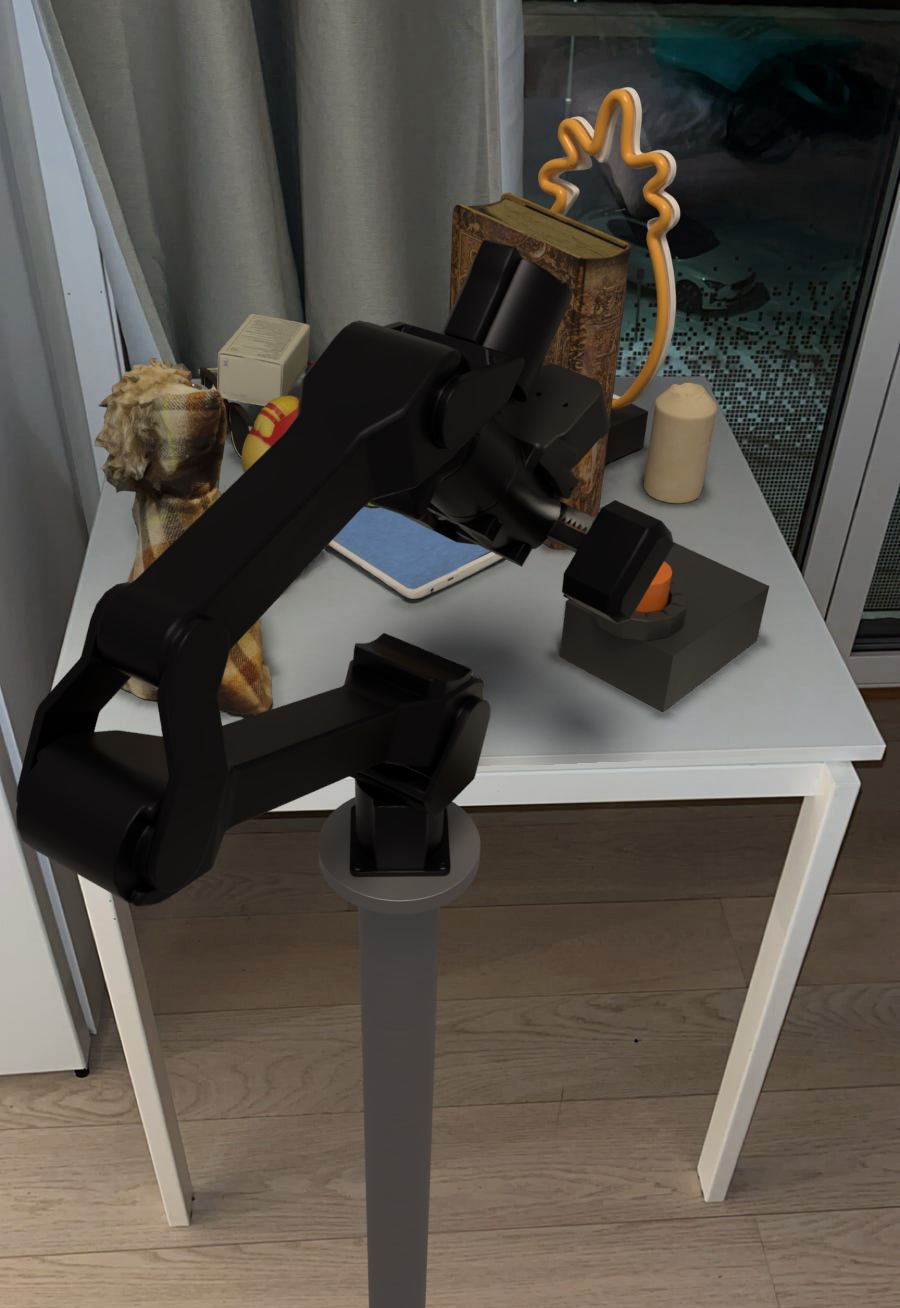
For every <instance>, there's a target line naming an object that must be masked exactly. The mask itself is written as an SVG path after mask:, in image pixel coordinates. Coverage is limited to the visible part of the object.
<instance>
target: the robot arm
mask: <svg viewBox="0 0 900 1308" xmlns="http://www.w3.org/2000/svg"><path fill="white" fill-rule="evenodd" d="M571 300H572V292H571V289H570V287H569V286H568V284H567V283H566V282H564V281H562V280H559V279H557V278H556V277H555V276H554V275H552V274H551V273H550V272H549V271H547V270H545V269H544V268H542V267H541V266H539V265H537V264H536V263H534V262H532V261H530V260H528V259H526V258H523V257H522V256H521V254H520V253H519V251H518V249H517V248H516V247H515V246H511V245H507V244H503V243H499V242H495V241H491V240H487V239H485V240H483V241H482V244H481V246H480V248H479V250H478V253H477V254H476V256H475V258H474V260H473V263H472V265H471V267H470V269H469V271H468V274H467V276H466V278H465V280H464V283H463V285H462V287H461V289H460V292H459V294H458V296H457V298H456V300H455V303H454V305H453V307H452V309H451V312H450V314H449V313H448V316H447V319H446V320H445V323H444V325H443V327H442V329H441V332H437V331H433V330H430V329H426V328H423V327H420V326H416V325H414V324H409V323H407V322H403V321H396V322H393V323H389V324H386V325H379V324H376V323H373V322H370V321H364V320H354V321H352V322H350V323H349V324H347V325H346V326H344V327H342V329H341V330H340V331H339V332H338V333H337V334H336V335H335V336H334V337H333V339H332V340H331V341H330V343H329V344H328V345H327V346H326V347H325V349H324V350H323V351H322V352H321V354H320V356H319V357H318V358H317V359H316V360H315V362H314V364H313V366H311V367H310V368H309V370H308V371H307V372H306V373H305V375H304V376H303V377H302V379H301V381H300V392H299V397H298V398H299V407H298V415H297V417H296V419H295V420H294V421H293V423H292V424H291V425H290V426H289V428H288V429H287V430H286V432H285V433H284V434H283V435H282V436H281V437H280V438H279V439H278V440H277V441H276V442H275V443H274V444H273V445H272V446H271V447H270V448H269V449H268V450H267V451H266V452H265V453H264V454H263V455H262V456H261V457H260V458H259V459H258V460H257V461H256V462H255V463H254V464H253V465H252V466H251V467H250V468H249V469H248V470H247V471H246V472H245V473H244V472H243V473H242V474H241V475H240V476H239V477H238V478H237V479H236V480H235V481H234V482H233V483H232V484H231V485H230V486H229V487H228V488H227V489H226V490H225V491H224V492H223V493H221V496H220V497H219V498H218V499H217V500H216V501H215V502H214V503H213V504H212V505H211V506H210V507H209V508H208V509H207V510H206V511H205V512H204V513H203V514H202V515H201V516H200V517H199V518H198V519H197V520H196V521H195V522H194V523H193V524H192V525H191V526H190V527H189V528H188V529H186V530H185V531H184V532H183V533H182V534H181V535H180V536H179V537H178V538H177V539H176V540H175V541H174V542H173V543H172V544H171V545H170V546H169V547H168V548H167V549H166V550H165V551H164V552H163V553H162V554H161V555H160V556H159V557H158V558H157V559H156V560H155V561H154V562H153V563H152V564H151V565H150V566H149V567H148V568H147V569H146V570H145V571H144V572H143V573H142V574H141V575H140V576H139V577H138V578H137V579H136V580H134V581H133V582H131V583H129V582H127V581H126V582H125V581H124V582H121V583H120V582H119V583H116V584H114V585H113V586H112V587H110V588H109V589H107V590H106V591H105V592H103V595H102V596H101V597H100V599H99V600H98V601H97V603H96V604H95V606H94V609H93V612H92V614H91V617H90V619H89V623H88V627H87V631H86V635H85V639H84V642H83V646H82V650H81V655H80V658H78V660H77V661H76V662H75V664H73V666H71V668H70V669H69V670H68V672H67V673H65V674H64V676H63V677H62V678H61V679H60V681H58V683H57V684H56V685H55V686H54V687H53V689H52V690H50V692H49V693H48V694H47V695H46V696H45V697H44V698H43V700H42V701H41V702H40V703H39V704H38V706H37V708H36V710H35V714H34V717H33V722H32V726H31V729H30V732H29V737H28V742H27V746H26V749H25V755H24V759H23V763H22V766H21V771H20V774H19V779H18V783H17V786H16V798H15V800H16V801H15V802H16V804H17V805H16V808H15V816H16V819H15V820H16V828H17V831H18V834H19V837H20V838H21V841H23V842H24V843H25V844H26V845H27V846H28V847H30V848H31V849H32V850H34V851H35V852H37V853H39V854H41V855H42V856H44V857H46V858H48V859H50V860H51V861H53V862H55V863H57V864H58V865H60V866H62V867H64V868H65V869H67V870H69V871H71V872H73V873H74V874H76V875H78V876H80V877H82V878H84V880H85V879H86V880H87V881H89V882H90V883H92V884H94V885H96V886H98V887H99V888H101V889H103V890H105V891H106V892H108V893H110V894H112V895H113V896H116V897H117V898H119V899H120V900H122V901H124V902H126V903H128V904H130V905H133V906H135V908H149V907H153V906H157V905H158V904H162V902H164V901H166V900H168V899H169V898H171V897H173V896H174V895H176V894H177V893H179V892H180V891H182V890H183V889H185V888H186V887H187V886H189V885H190V884H192V883H193V882H195V881H197V880H198V879H199V878H201V877H203V876H204V875H206V874H207V873H209V872H210V871H211V870H212V869H213V867H215V863H216V859H217V856H218V853H219V851H220V848H221V845H222V842H223V840H224V836H225V833H226V832H227V831H229V830H230V829H232V828H234V827H236V826H239V825H241V824H243V823H246V822H247V821H250V820H252V819H255V818H257V817H259V816H261V815H264V814H266V813H268V812H271V811H272V810H275V809H278V808H280V807H283V806H285V805H287V804H289V803H291V802H294V801H297V800H299V799H301V798H303V797H305V796H307V795H310V794H312V793H314V792H318V791H320V790H322V789H324V788H326V787H329V786H330V785H333V784H335V783H338V782H340V781H343V780H345V779H347V778H352V779H354V797H355V805H353V806H352V807H351V827H350V874H351V875H352V876H354V877H440V876H447V875H449V874H450V870H451V864H450V847H449V831H448V814H447V806H448V805H449V804H450V803H451V802H454V800H456V798H457V797H458V796H459V795H460V794H461V793H462V792H463V791H464V790H465V789H466V788H467V787H468V786H470V784H471V783H472V782H473V781H474V780H475V778H476V775H477V771H478V768H479V763H480V759H481V754H482V751H483V748H484V743H485V740H486V735H487V731H488V728H489V723H490V720H491V712H492V711H491V710H492V709H491V705H490V703H489V701H488V700H486V699H484V689H485V686H486V683H485V681H484V679H482V678H481V677H479V676H476V675H473V673H474V669H473V668H471V667H468V666H466V665H464V664H461V663H459V662H456V661H454V660H452V659H449V658H447V657H444V656H443V655H440V654H437V653H434V652H433V651H430V650H427V649H425V648H422V647H421V646H417V645H416V644H413V643H410V642H407V641H405V640H403V639H400V638H398V637H396V636H394V635H391V634H388V633H387V632H383V633H382V634H380V635H379V636H378V637H377V638H376V639H374V640H372V641H370V642H355V644H354V648H353V656H352V659H351V660H350V661H349V664H348V667H347V672H346V676H345V679H344V684H343V685H342V686H339V687H336V688H333V689H330V690H325V691H324V692H320V693H317V694H315V695H311V696H308V697H306V698H302V699H298V700H295V701H292V702H290V703H287V704H283V705H280V706H278V707H275V708H271V709H269V710H268V711H265V712H262V713H259V714H256V715H253V716H250V717H249V716H246V717H245V718H241V719H239V720H234V721H232V722H228V723H226V724H223V721H222V713H221V709H220V708H219V702H218V693H219V690H220V686H221V683H222V679H223V675H224V672H225V668H226V665H227V661H228V657H229V651H230V650H231V649H232V647H233V646H234V645H235V644H236V643H237V642H238V641H239V640H240V639H241V638H242V637H243V636H244V635H245V633H246V632H247V631H248V630H249V629H250V628H251V627H252V626H253V625H254V624H255V623H256V622H257V621H258V619H259V620H260V619H261V618H262V616H263V615H264V614H266V612H268V610H269V609H270V608H271V607H272V606H273V604H274V603H275V602H277V600H278V599H279V598H281V596H282V595H283V594H284V593H285V592H286V591H287V590H288V589H289V587H290V586H291V585H292V584H293V583H294V582H295V581H296V580H297V579H298V578H299V577H300V576H301V575H302V573H303V572H304V571H305V570H306V569H307V568H308V567H309V566H310V565H311V564H312V563H313V561H315V559H316V558H317V557H319V555H320V554H321V553H322V552H323V551H324V550H325V548H327V546H329V545H328V544H329V543H330V542H331V541H332V540H333V539H334V538H335V537H336V536H337V535H338V533H339V532H340V531H341V530H342V529H343V528H344V527H345V526H346V525H347V524H348V523H349V522H350V521H351V519H352V518H353V517H354V516H355V515H356V514H357V513H358V512H359V511H360V510H361V509H362V508H363V507H365V506H366V505H367V504H368V503H370V504H372V505H375V506H378V507H381V508H384V509H387V510H389V511H392V512H395V513H398V514H401V515H403V516H404V517H406V518H408V519H410V520H412V521H414V522H416V523H418V524H420V525H422V526H424V527H426V528H428V529H430V530H433V531H435V532H437V533H439V534H441V535H443V536H445V537H447V538H449V539H451V540H453V541H455V542H457V543H465V544H473V545H479V546H481V547H483V548H485V549H487V550H489V551H491V552H493V553H495V554H497V555H499V556H501V557H503V558H502V559H505V560H508V561H509V562H511V563H513V564H515V565H518V566H519V567H523V566H524V564H525V562H526V561H527V559H528V557H529V555H531V552H532V551H533V550H536V549H538V548H539V547H541V546H542V545H543V544H544V542H545V541H546V540H547V539H548V540H550V541H552V542H554V543H557V544H559V545H561V546H563V547H565V548H567V549H566V550H569V551H571V552H573V553H574V556H572V558H571V560H570V562H569V564H568V565H567V567H566V569H565V571H564V572H563V578H562V585H561V593H562V594H563V595H562V596H563V598H566V599H567V600H568V599H569V600H571V601H573V602H575V603H577V604H579V605H581V606H582V607H584V608H586V609H588V610H590V611H592V612H594V613H596V614H598V615H600V616H602V617H604V618H606V619H608V620H610V621H612V622H614V623H616V624H620V623H623V622H625V621H628V620H630V619H631V617H632V615H633V614H634V612H635V610H636V609H637V607H638V605H639V603H640V602H641V600H642V598H643V597H644V595H645V593H646V591H647V590H648V588H649V586H650V585H651V583H652V581H653V580H654V578H655V576H656V574H657V573H658V571H659V569H660V568H661V566H662V564H663V562H664V561H665V559H666V557H667V556H668V554H669V552H670V550H671V549H672V547H673V545H674V543H675V541H674V538H673V533H672V531H671V530H670V529H669V528H668V527H667V525H666V524H665V522H663V521H662V520H661V519H658V518H657V517H655V516H651V515H650V514H647V513H645V512H643V511H641V510H639V509H636V508H634V507H631V506H630V505H628V504H625V503H623V502H620V501H618V500H616V499H614V500H612V501H611V502H609V503H607V504H605V505H603V506H601V507H600V509H599V513H598V514H597V515H596V516H591V515H589V514H587V513H584V512H582V511H580V510H578V509H576V508H574V507H571V506H569V505H567V504H565V503H563V502H561V501H560V500H561V498H562V497H563V498H565V499H569V498H570V496H571V494H572V493H573V491H574V489H575V487H576V486H577V484H578V482H579V481H578V480H577V478H576V477H575V476H574V475H573V474H572V473H571V472H570V469H572V468H574V467H575V466H576V465H577V464H578V463H579V462H580V461H581V460H582V459H583V458H584V456H585V455H586V454H587V453H588V452H589V451H590V450H591V448H592V447H593V446H594V445H595V444H596V443H597V442H598V440H599V439H602V438H604V436H605V435H606V434H607V433H608V431H609V429H610V422H609V418H608V413H607V408H606V403H605V399H604V394H603V389H602V385H601V384H600V383H599V382H598V381H597V380H594V379H592V378H590V377H587V376H584V375H582V374H579V373H577V372H574V371H572V370H569V369H567V368H564V367H562V366H559V365H556V364H547V365H542V364H543V362H544V360H545V358H546V355H547V353H548V351H549V349H550V347H551V344H552V342H553V340H554V338H555V335H556V333H557V331H558V329H559V326H560V324H561V322H562V320H563V317H564V315H565V313H566V311H567V309H568V306H569V304H570V302H571ZM558 519H560V520H561V521H562V522H564V521H565V523H566V524H570V525H571V526H572V527H574V526H575V525H576V526H575V527H576V528H577V529H578V530H579V529H580V528H581V530H582V531H583V532H584V531H585V530H586V533H587V534H584V533H582V532H580V531H578V530H575V529H573V528H571V527H569V526H567V525H565V524H563V523H561V522H558ZM131 677H133V678H135V679H137V680H139V681H141V682H143V683H145V684H147V685H150V686H152V687H154V688H156V689H158V692H157V700H156V705H157V710H158V716H159V724H160V728H161V735H156V734H147V733H140V732H134V731H127V730H119V729H113V730H98V731H96V727H97V722H98V720H99V716H100V713H101V711H102V710H103V709H104V708H105V707H106V706H107V705H108V704H109V702H110V701H111V700H112V699H113V698H114V697H115V696H116V695H117V694H118V693H119V691H120V690H121V689H123V688H122V687H123V686H124V685H125V683H126V682H127V681H128V680H129V679H130V678H131ZM441 868H445V869H441ZM355 869H360V870H355Z"/></svg>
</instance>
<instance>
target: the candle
mask: <svg viewBox="0 0 900 1308" xmlns="http://www.w3.org/2000/svg"><path fill="white" fill-rule="evenodd" d="M654 404H655V405H654V408H653V416H652V423H651V424H652V425H651V431H650V437H649V444H648V451H647V457H646V464H645V470H644V479H643V489H644V491H645V493H646V494H647V495H648V496H650V497H651V498H653V499H655V500H658V501H660V502H664V503H669V504H686V503H690V502H693V501H695V500H697V499H698V498H699V497H700V496H701V494H702V491H703V486H704V482H705V480H704V479H705V475H706V470H707V465H708V459H709V456H710V455H709V453H710V450H711V444H712V443H711V442H712V437H713V432H714V428H715V427H714V426H715V422H716V421H715V420H716V416H717V411H718V405H717V403H716V401H714V399H713V397H711V395H710V394H709V393H708V392H707V391H706V389H705V387H704V386H703V385H701V384H696V383H692V382H684V383H682V384H676V383H673V384H672V385H671V386H670V387H669V388H667V389H666V390H665V391H664V392H662V393H661V394H660V395H658V396H657V398H656V399H655V403H654Z"/></svg>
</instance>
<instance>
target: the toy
mask: <svg viewBox="0 0 900 1308" xmlns="http://www.w3.org/2000/svg"><path fill="white" fill-rule="evenodd" d="M299 398H300V397H297V396H294V395H288V396H280V397H278V398H275V399H273V400H271V401H270V402H269V403H268V404H267V405H266V406H262V408H261V409H260V410H259V413H258V414H257V416H256V418H255V421H254V425H253V427H252V429H251V430H250V432H249V434H248V435H247V437H246V440H245V442H244V445H243V450H242V458H241V465H242V471H243V474H244V473H245V472H246V471H247V470H248V469H249V468H250V467H251V466H252V465H253V464H254V463H255V462H256V461H257V460H258V459H259V458H260V457H261V456H262V455H263V454H264V453H265V452H266V451H267V450H268V449H269V448H270V447H271V446H272V445H273V444H274V443H275V442H276V441H277V440H278V439H279V438H280V437H281V436H282V435H283V434H284V433H285V432H286V430H287V429H288V428H289V426H290V425H291V424H292V423H293V421H294V420H295V419H296V417H297V415H298V407H299Z"/></svg>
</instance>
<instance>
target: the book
mask: <svg viewBox="0 0 900 1308" xmlns="http://www.w3.org/2000/svg"><path fill="white" fill-rule="evenodd" d="M451 221H452V222H451V223H452V224H451V247H450V248H451V253H450V257H451V258H450V280H449V282H450V283H449V307H448V308H449V310H448V311H449V313H448V315H449V314H450V312H451V309H452V307H453V305H454V303H455V300H456V298H457V296H458V294H459V292H460V289H461V287H462V285H463V283H464V280H465V278H466V276H467V274H468V271H469V269H470V267H471V265H472V263H473V260H474V258H475V256H476V254H477V253H478V250H479V248H480V246H481V244H482V241H483V240H485V239H487V240H491V241H495V242H499V243H503V244H507V245H511V246H515V247H516V248H517V249H518V251H519V253H520V254H521V256H522V257H523V258H526V259H528V260H530V261H532V262H534V263H536V264H537V265H539V266H541V267H542V268H544V269H545V270H547V271H549V272H550V273H551V274H552V275H554V276H555V277H556V278H557V279H559V280H562V281H564V282H566V283H567V284H568V286H569V287H570V289H571V292H572V300H571V302H570V304H569V306H568V309H567V311H566V313H565V315H564V317H563V320H562V322H561V324H560V326H559V329H558V331H557V333H556V335H555V338H554V340H553V342H552V344H551V347H550V349H549V351H548V353H547V355H546V358H545V360H544V362H543V364H542V365H547V364H556V365H559V366H562V367H564V368H567V369H569V370H572V371H574V372H577V373H579V374H582V375H584V376H587V377H590V378H592V379H594V380H597V381H598V382H599V383H600V384H601V385H602V389H603V394H604V399H605V403H606V408H607V413H608V418H609V422H610V417H611V408H612V400H613V394H614V392H615V383H616V375H617V367H618V359H619V351H620V350H619V349H620V342H621V333H622V326H623V317H624V311H625V310H624V309H625V302H626V292H627V285H628V278H629V277H628V276H629V268H630V261H631V260H630V259H631V252H632V244H631V243H630V242H627V241H625V240H623V239H621V238H618V237H616V236H614V235H611V234H609V233H606V232H604V231H601V230H599V229H597V228H594V227H592V226H590V225H587V224H586V223H583V222H580V221H577V220H575V219H573V218H570V217H568V216H567V215H565V216H564V215H561V214H559V213H556V212H554V211H552V210H550V208H547V207H545V206H542V205H540V204H538V203H535V202H532V201H530V200H528V199H526V198H523V197H521V196H518V195H516V194H514V193H513V192H505V193H503V194H501V196H500V200H497V201H495V202H491V203H486V204H477V205H466V204H464V203H459V204H455V205H454V207H453V209H452V220H451ZM608 433H609V431H608ZM608 433H607V434H606V435H605V436H604V438H602V439H599V440H598V442H597V443H596V444H595V445H594V446H593V447H592V448H591V450H590V451H589V452H588V453H587V454H586V455H585V456H584V458H583V459H582V460H581V461H580V462H579V463H578V464H577V465H576V466H575V467H574V468H572V469H570V472H571V473H572V474H573V475H574V476H575V477H576V478H577V480H578V481H579V482H578V484H577V486H576V487H575V489H574V491H573V493H572V494H571V496H570V498H569V499H565V498H563V497H562V498H561V500H560V501H561V502H563V503H565V504H567V505H569V506H571V507H574V508H576V509H578V510H580V511H582V512H584V513H587V514H589V515H591V516H596V515H597V514H598V513H599V512H600V508H601V507H600V506H601V497H602V489H603V482H604V474H605V465H606V464H605V458H606V449H607V441H608ZM558 522H561V523H563V524H565V525H567V526H569V527H571V528H573V529H575V530H578V529H577V528H576V527H575V526H576V525H575V526H574V527H572V526H571V525H570V524H566V523H565V521H564V522H562V521H561V520H560V519H558ZM578 531H580V532H582V533H584V534H587V533H586V530H585V531H584V532H583V531H582V530H581V528H580V529H579V530H578ZM543 544H544V545H545V546H547V547H549V548H550V549H553V550H568V549H567V548H565V547H563V546H561V545H559V544H557V543H554V542H552V541H550V540H548V539H547V540H546V541H545V542H544V543H543Z"/></svg>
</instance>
